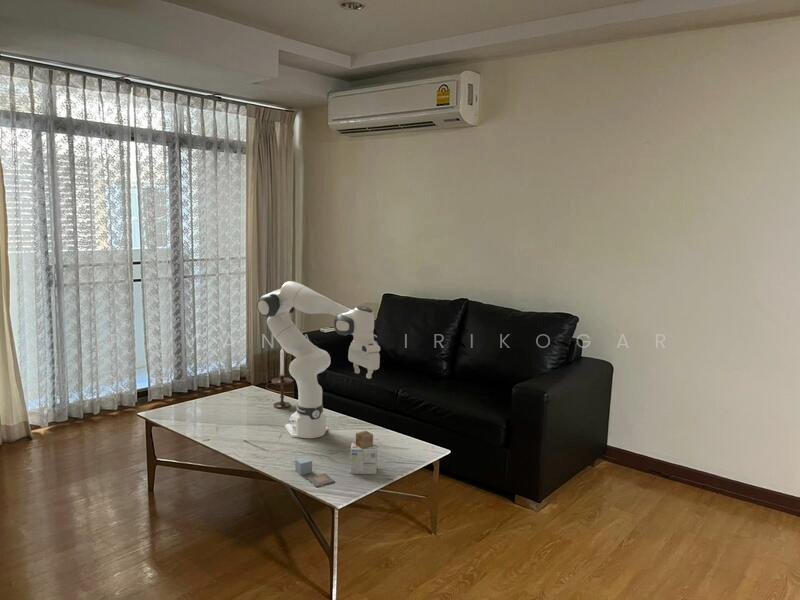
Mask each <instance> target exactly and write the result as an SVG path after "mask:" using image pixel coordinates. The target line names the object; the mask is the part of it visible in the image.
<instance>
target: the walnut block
mask: <svg viewBox="0 0 800 600" xmlns="http://www.w3.org/2000/svg"><path fill="white" fill-rule="evenodd" d="M355 443H356V445H357V446H358V447H360V448H362V449H365V448H368V447H372V446H373V443H374V434H373V433H371V432H370V431H367V430H363V431H360V432H359V431H358V432H356V433H355Z"/></svg>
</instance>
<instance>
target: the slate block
mask: <svg viewBox="0 0 800 600" xmlns="http://www.w3.org/2000/svg"><path fill="white" fill-rule="evenodd" d="M294 465H295V467H294V471H295V472H296V473H297V474H298V473H299V474H298V475H299V476H304V475H303V474H305V475H307V474H306V473H309V474H311V473H310V472H312V473H313V460H312V459H310V458H309V457H308V456H303V457H300V458H296V459H294Z"/></svg>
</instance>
